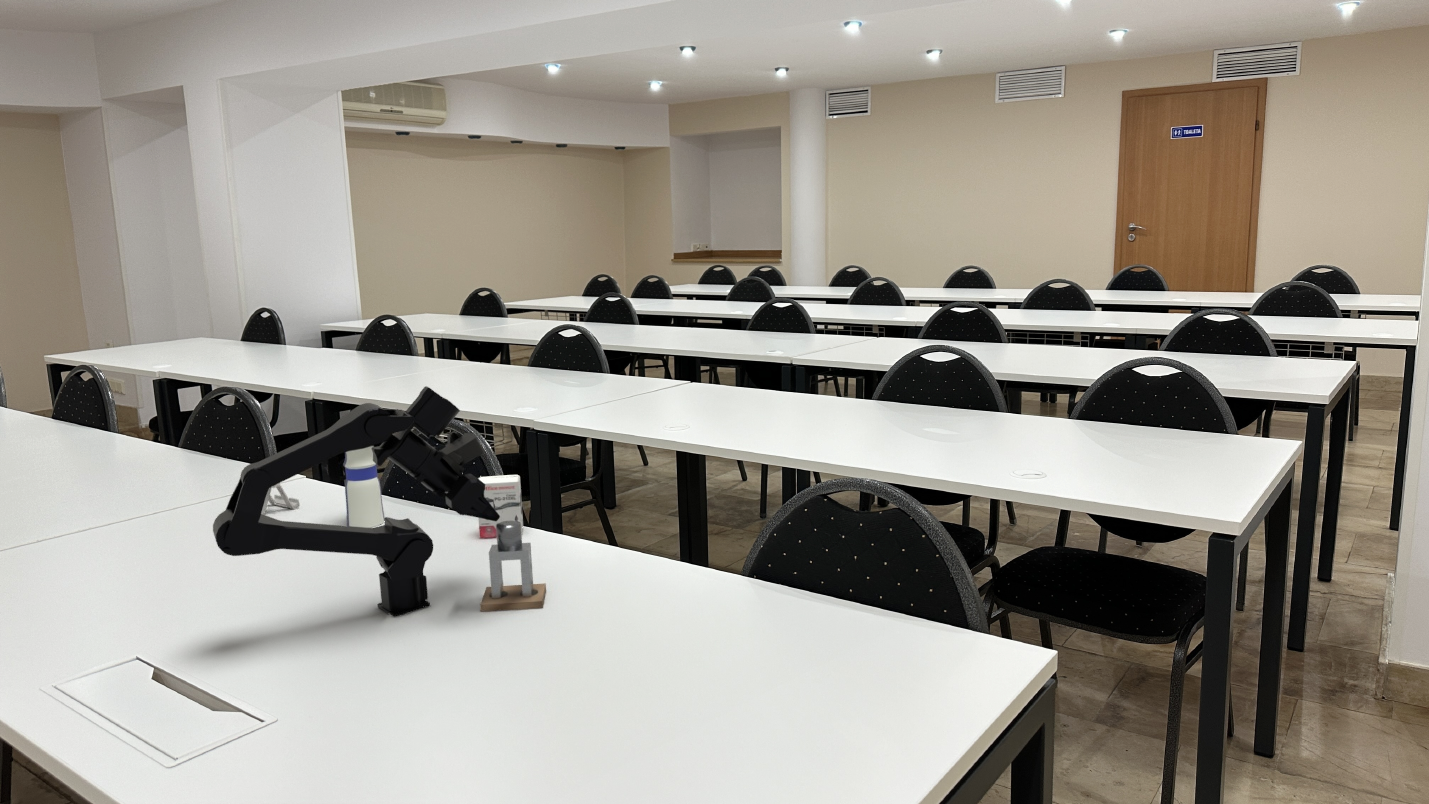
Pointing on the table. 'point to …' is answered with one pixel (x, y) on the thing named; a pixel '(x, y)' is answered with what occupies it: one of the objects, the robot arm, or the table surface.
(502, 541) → the dividers
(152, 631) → the table surface
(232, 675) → the table surface
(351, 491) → the water bottle
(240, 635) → the table surface
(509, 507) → the ink box
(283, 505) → the portable electronic device stand
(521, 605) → the bolt plate
